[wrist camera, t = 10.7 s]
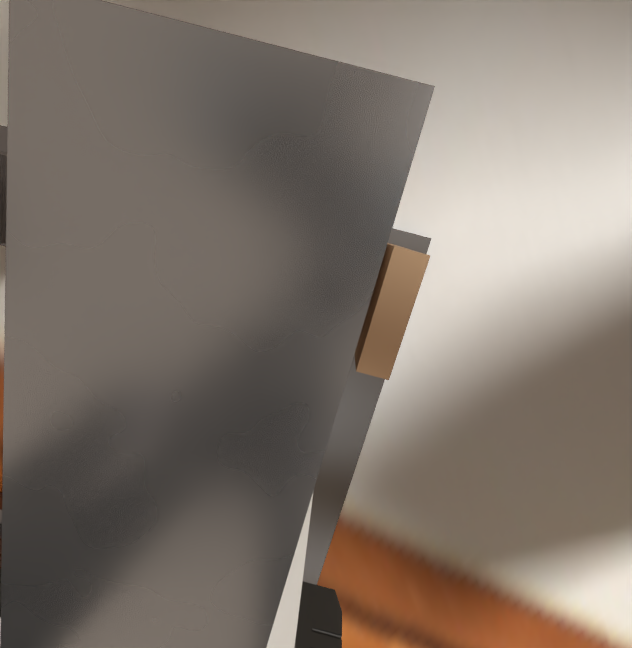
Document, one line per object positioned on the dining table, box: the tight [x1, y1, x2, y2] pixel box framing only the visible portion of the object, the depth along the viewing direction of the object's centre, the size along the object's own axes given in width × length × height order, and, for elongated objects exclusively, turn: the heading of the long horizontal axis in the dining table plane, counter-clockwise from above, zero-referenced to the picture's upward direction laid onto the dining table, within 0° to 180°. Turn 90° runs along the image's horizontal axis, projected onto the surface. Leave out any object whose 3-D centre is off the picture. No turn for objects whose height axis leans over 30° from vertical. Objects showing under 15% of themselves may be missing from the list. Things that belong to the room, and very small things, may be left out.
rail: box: [0, 0, 435, 648], centre depth 8 cm, size 22×4×4 cm, turn 166°
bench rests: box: [303, 228, 431, 585], centre depth 13 cm, size 20×9×5 cm, turn 166°
